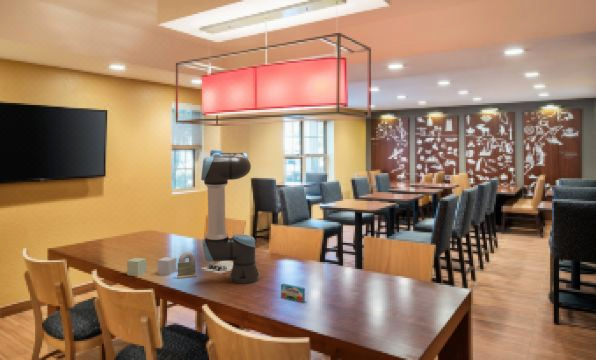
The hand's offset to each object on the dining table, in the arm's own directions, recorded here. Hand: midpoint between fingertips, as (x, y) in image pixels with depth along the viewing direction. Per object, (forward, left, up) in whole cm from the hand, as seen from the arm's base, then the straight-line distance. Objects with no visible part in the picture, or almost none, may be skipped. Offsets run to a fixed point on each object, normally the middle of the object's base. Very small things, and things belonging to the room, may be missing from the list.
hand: (217, 212), depth 254 cm
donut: (-7, +25, -30) cm, 39 cm away
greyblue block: (-6, +36, -30) cm, 47 cm away
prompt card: (-20, +32, -29) cm, 48 cm away
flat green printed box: (-84, +13, -30) cm, 90 cm away
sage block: (+4, +49, -30) cm, 58 cm away
